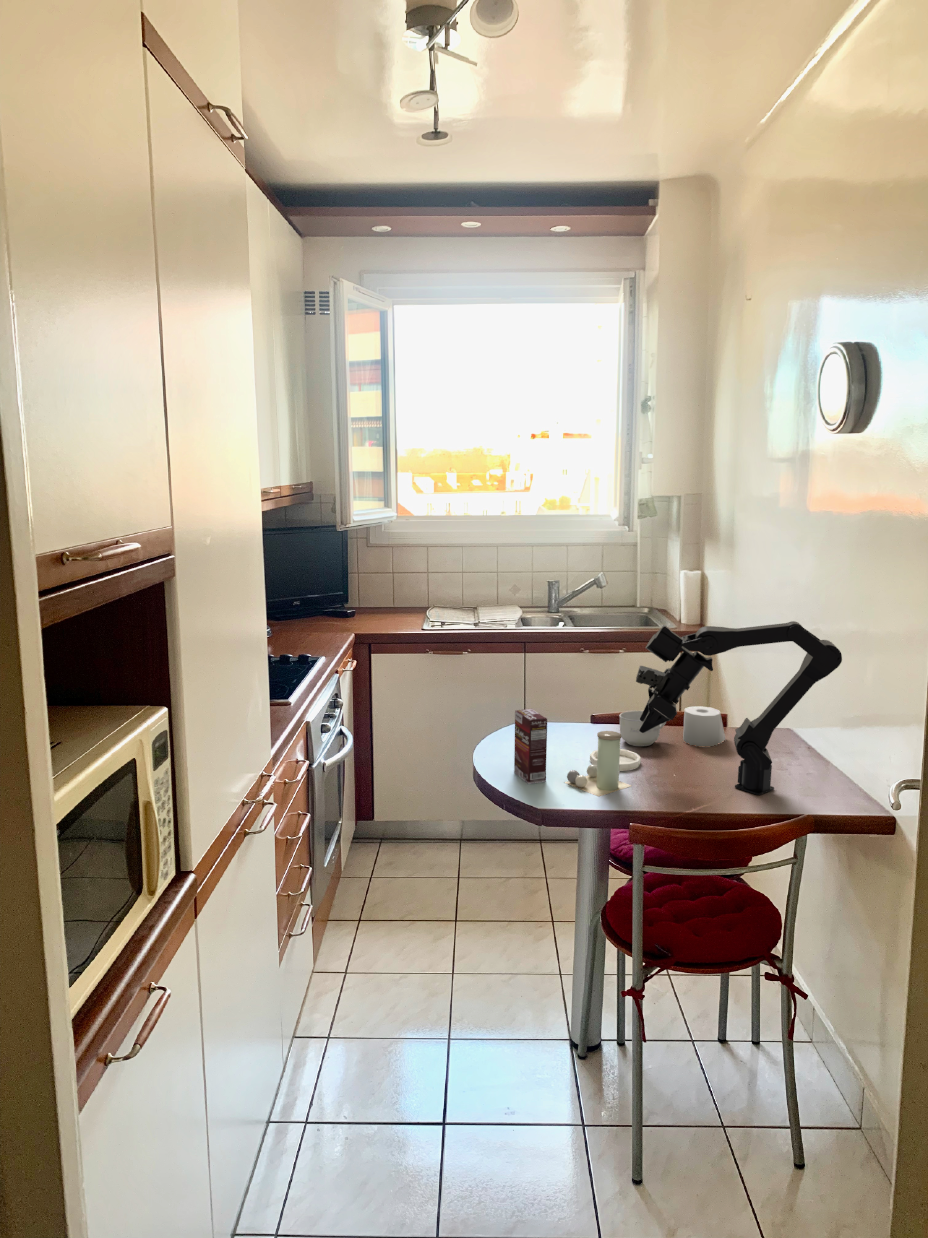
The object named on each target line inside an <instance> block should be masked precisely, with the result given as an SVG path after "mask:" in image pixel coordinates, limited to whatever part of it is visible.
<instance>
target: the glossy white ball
mask: <svg viewBox="0 0 928 1238" xmlns="http://www.w3.org/2000/svg"><path fill="white" fill-rule="evenodd" d="M586 773H587V775H589V776H590V777H597V766H596V765H593V764H590V765H588V767H586Z"/></svg>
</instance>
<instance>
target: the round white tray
mask: <svg viewBox="0 0 928 1238" xmlns="http://www.w3.org/2000/svg"><path fill="white" fill-rule="evenodd" d="M589 754H590V755H589V762H590V763H591V765H596V766H597V756H598V749H596V750H593V751H592V752H591V753H589ZM641 762H642V761H641V756H640V754H638V753H637V752H633V751H631V750H628V749H622V748H620V762H619V772H622V771H625V772H626V771H631V770H635V769H637V768H639V766H640V764H641Z"/></svg>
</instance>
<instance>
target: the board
mask: <svg viewBox="0 0 928 1238" xmlns="http://www.w3.org/2000/svg"><path fill="white" fill-rule="evenodd" d="M584 776H585V777H586V778H587V785H586V786H585V787H582V788H581V787H578V786H577V785H576V783H571V782H569V781H568V780H567V781H565V782H563V783H564V784H566V785H569V786H572V787H574V788H576V789H579V790H582V791H584V792H586V793H588V794H590V795H591V794H592V795H594V796H596V797H598V798H600V797H603V796H606V795H608V794H611V793H614V792H615V793H616V792H618V791H621V790H624V789H629V788H630V787H632V785H631V784H628V783H626V782H623V781H620V780H619V786H618V789H617V790H613V791H605V790H601V789H598V788H597V787H596V784H597V777H590V776H589V775H588V774H587V775H584Z"/></svg>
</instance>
